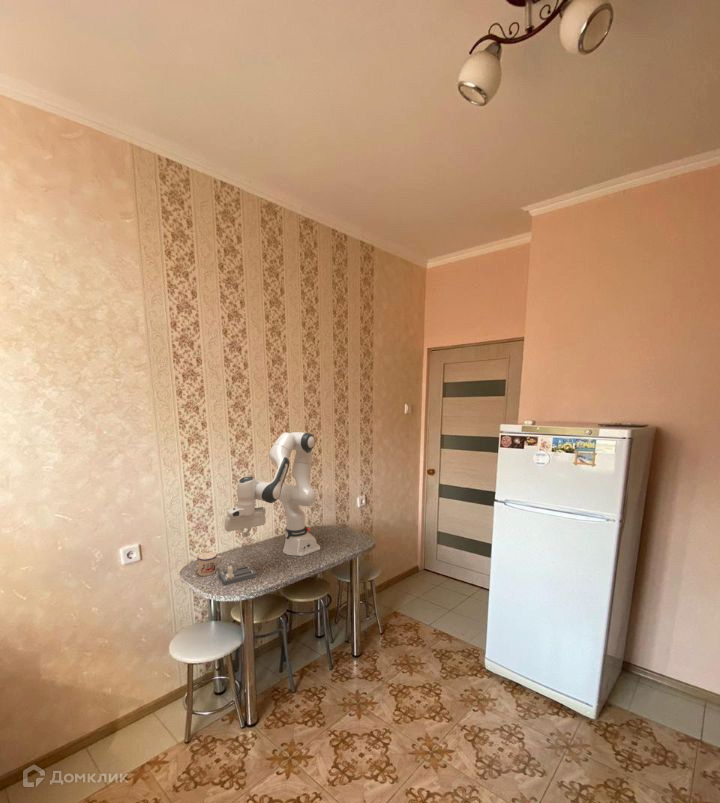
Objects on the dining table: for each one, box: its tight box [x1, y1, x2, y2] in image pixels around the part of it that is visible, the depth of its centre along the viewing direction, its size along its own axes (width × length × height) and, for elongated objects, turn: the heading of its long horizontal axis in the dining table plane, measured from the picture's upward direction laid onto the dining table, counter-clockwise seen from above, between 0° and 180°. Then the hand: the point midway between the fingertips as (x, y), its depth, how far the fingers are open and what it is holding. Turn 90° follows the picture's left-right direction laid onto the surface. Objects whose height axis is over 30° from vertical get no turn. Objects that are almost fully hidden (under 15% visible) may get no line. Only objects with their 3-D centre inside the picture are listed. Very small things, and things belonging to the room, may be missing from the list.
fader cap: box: [226, 565, 234, 579], centre depth 181 cm, size 3×3×5 cm
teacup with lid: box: [197, 549, 223, 577], centre depth 190 cm, size 12×9×12 cm
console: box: [218, 560, 257, 586], centre depth 186 cm, size 16×11×7 cm
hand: (245, 536), depth 185 cm, fingers closed
